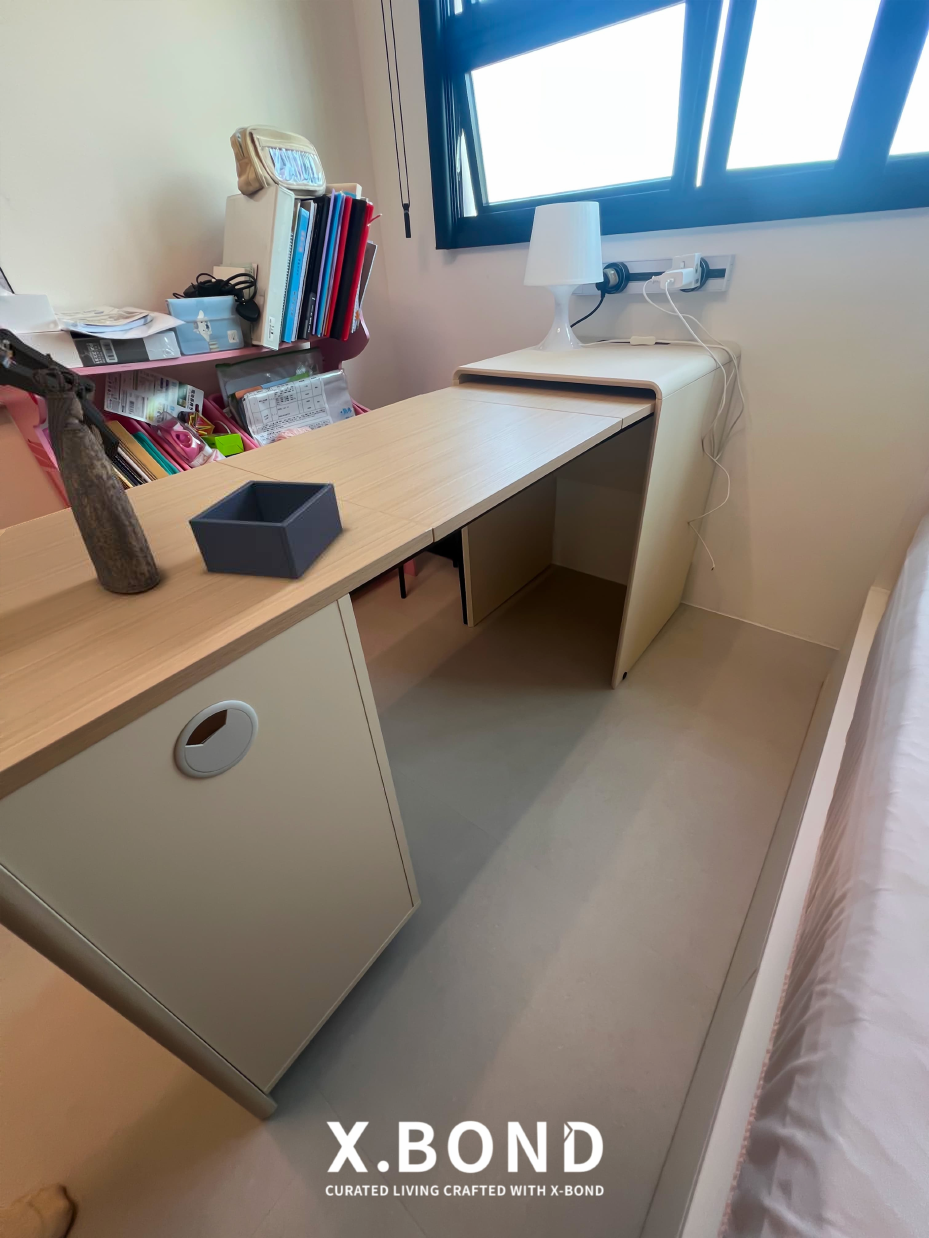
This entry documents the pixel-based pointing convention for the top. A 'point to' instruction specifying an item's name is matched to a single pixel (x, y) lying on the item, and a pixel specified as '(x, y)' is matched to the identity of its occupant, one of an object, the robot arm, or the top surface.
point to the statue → (96, 492)
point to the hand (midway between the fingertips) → (55, 467)
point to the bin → (268, 528)
